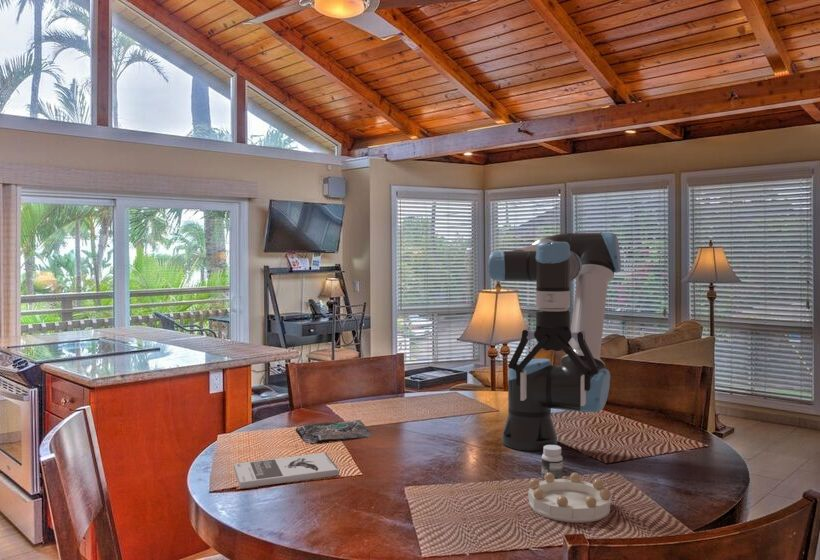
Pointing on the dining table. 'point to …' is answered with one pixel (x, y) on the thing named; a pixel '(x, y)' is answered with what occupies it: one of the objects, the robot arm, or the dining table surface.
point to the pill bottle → (552, 461)
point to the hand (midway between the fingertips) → (552, 402)
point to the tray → (569, 499)
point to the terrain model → (333, 431)
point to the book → (284, 470)
